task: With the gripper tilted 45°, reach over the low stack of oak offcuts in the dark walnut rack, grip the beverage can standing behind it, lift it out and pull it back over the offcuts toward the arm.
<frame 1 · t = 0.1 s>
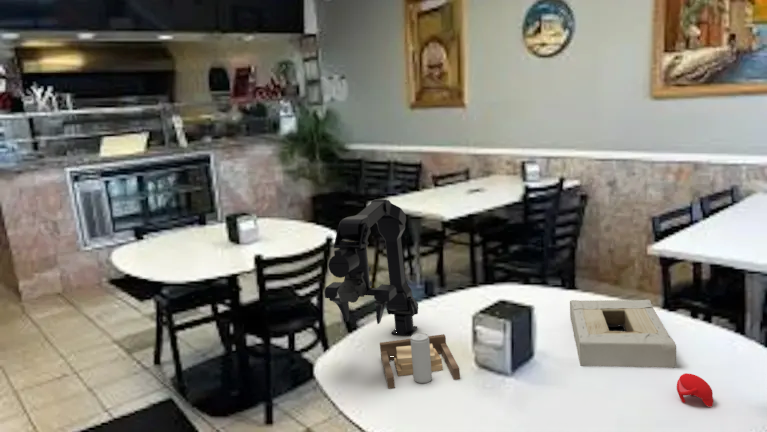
hand: (362, 322, 158), 15 cm above the table, tool pointing down, fingers open, 9 cm apart
beverage can: (423, 380, 154), on the table
offcut stack: (418, 366, 161), on the table
box: (617, 343, 166), on the table
offcut rack: (418, 368, 160), on the table
red curved shell piece: (694, 401, 133), on the table
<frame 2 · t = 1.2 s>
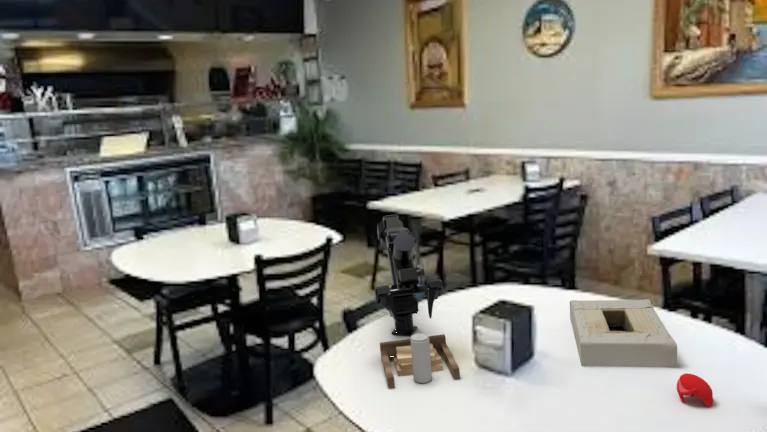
hand: (413, 320, 159), 13 cm above the table, tool tilted 45°, fingers open, 9 cm apart
nothing on the table moved.
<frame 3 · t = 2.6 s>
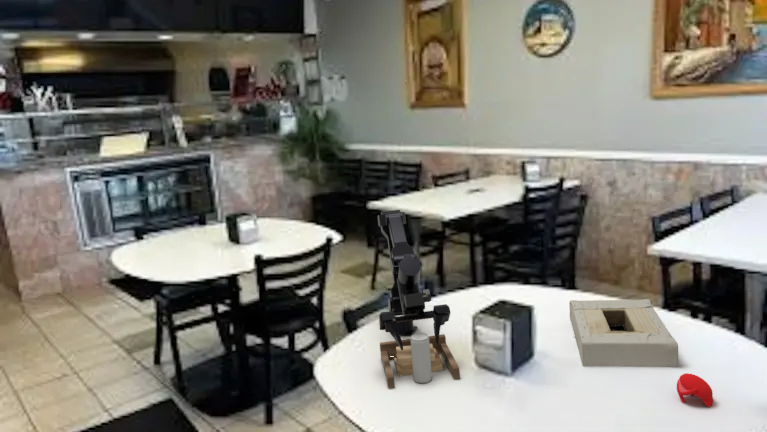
hand: (419, 347, 153), 9 cm above the table, tool tilted 45°, fingers open, 9 cm apart
nothing on the table moved.
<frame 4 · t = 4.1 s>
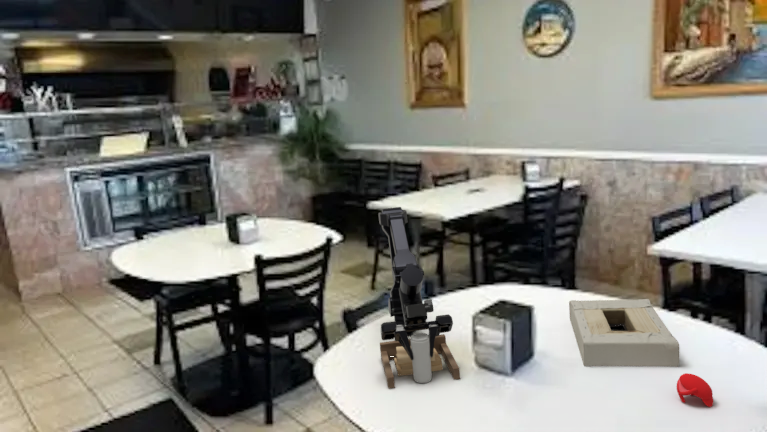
hand: (422, 358, 151), 7 cm above the table, tool tilted 45°, fingers closed on beverage can, 5 cm apart
beverage can: (423, 380, 154), on the table, touching gripper
everything else where it was.
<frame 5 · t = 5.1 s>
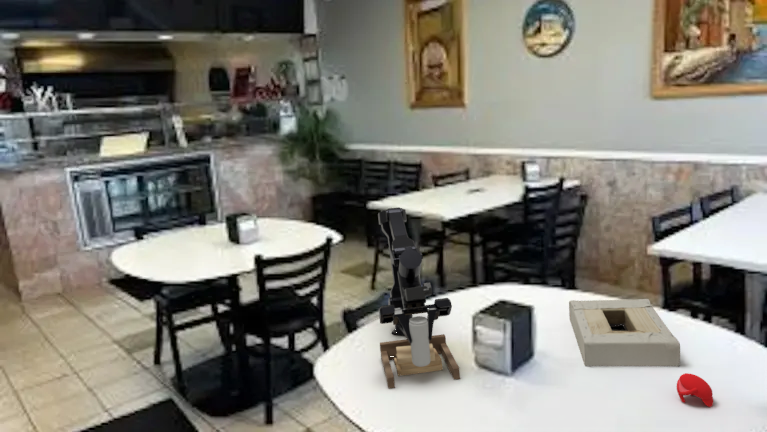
hand: (420, 341, 150), 11 cm above the table, tool tilted 45°, fingers closed on beverage can, 5 cm apart
beverage can: (421, 363, 153), point 4 cm above the table, touching gripper
everything else where it was.
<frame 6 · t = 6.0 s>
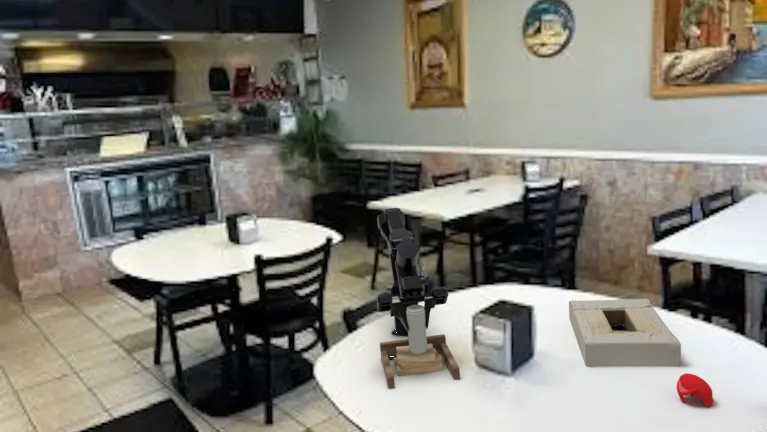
hand: (417, 329, 154), 13 cm above the table, tool tilted 45°, fingers closed on beverage can, 5 cm apart
beverage can: (418, 351, 157), point 6 cm above the table, touching gripper
everything else where it was.
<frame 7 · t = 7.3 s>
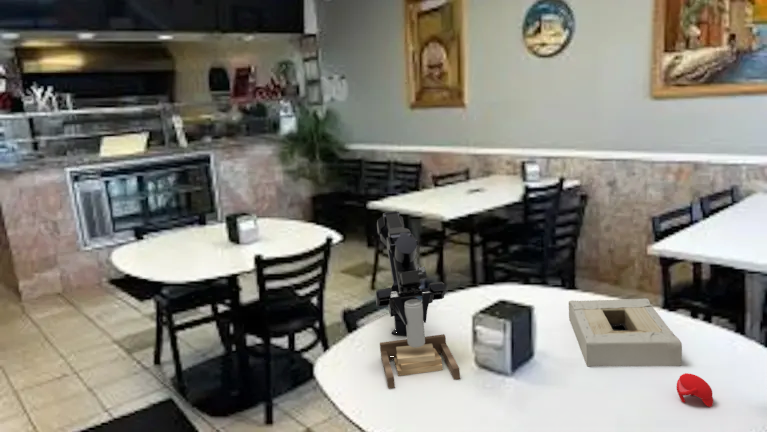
hand: (415, 323, 157), 13 cm above the table, tool tilted 45°, fingers closed on beverage can, 5 cm apart
beverage can: (416, 345, 160), point 7 cm above the table, touching gripper
everything else where it was.
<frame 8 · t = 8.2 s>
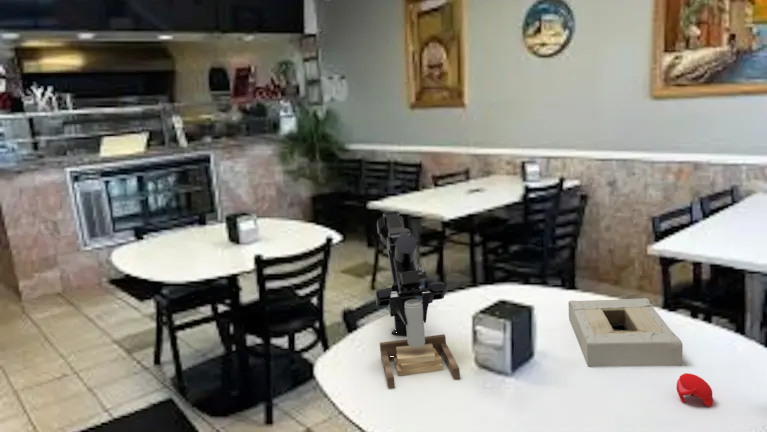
hand: (415, 323, 157), 13 cm above the table, tool tilted 45°, fingers closed on beverage can, 5 cm apart
beverage can: (416, 345, 160), point 7 cm above the table, touching gripper
at the end: the gripper is holding beverage can; beverage can inside the target area (0.2 cm from its centre), point 6.5 cm above the table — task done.
